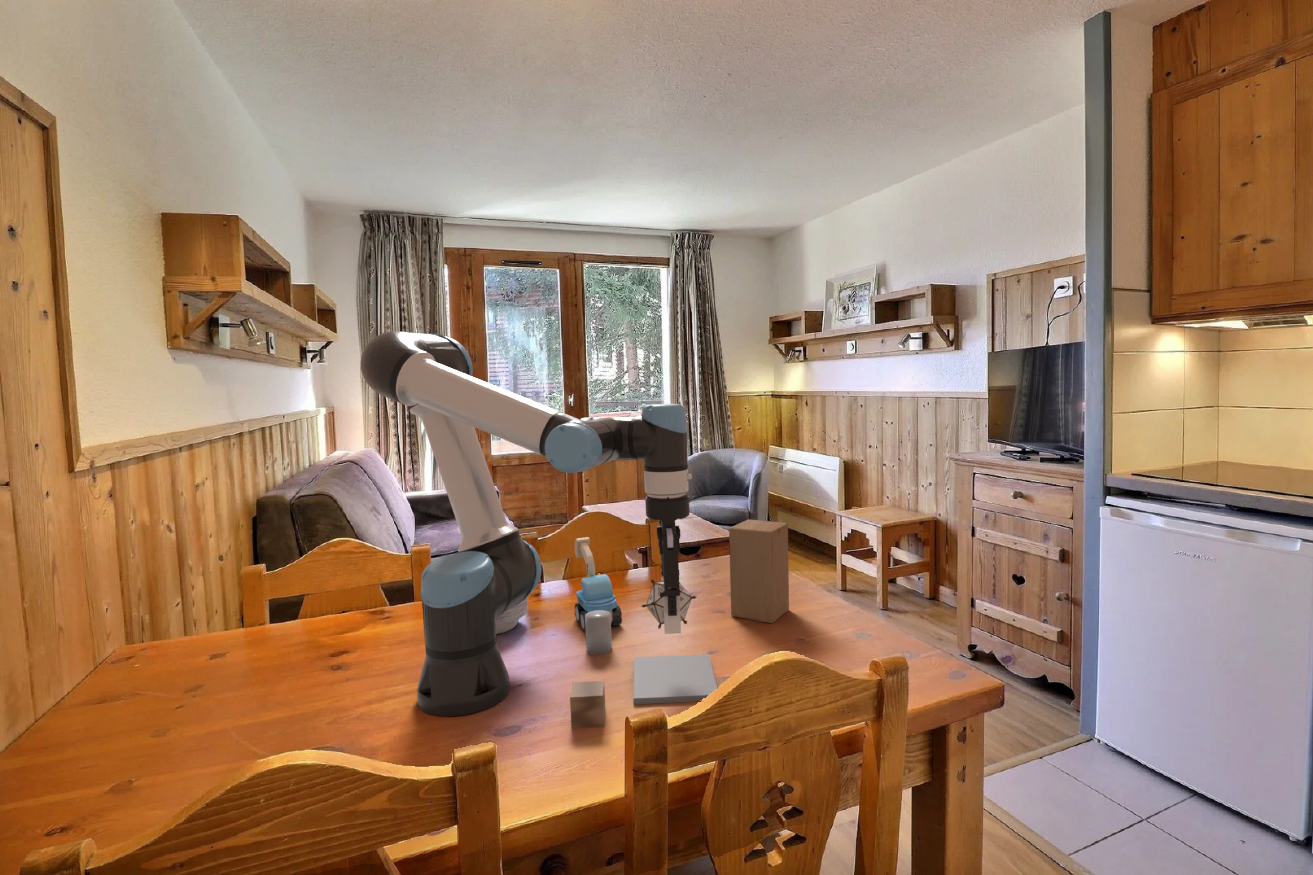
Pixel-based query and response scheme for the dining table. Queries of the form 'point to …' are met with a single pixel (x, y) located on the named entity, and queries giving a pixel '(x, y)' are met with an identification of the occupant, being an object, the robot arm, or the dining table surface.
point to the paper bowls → (510, 617)
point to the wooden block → (759, 570)
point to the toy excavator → (594, 589)
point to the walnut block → (587, 704)
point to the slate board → (673, 678)
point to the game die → (657, 602)
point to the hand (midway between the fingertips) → (671, 622)
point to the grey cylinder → (598, 632)
